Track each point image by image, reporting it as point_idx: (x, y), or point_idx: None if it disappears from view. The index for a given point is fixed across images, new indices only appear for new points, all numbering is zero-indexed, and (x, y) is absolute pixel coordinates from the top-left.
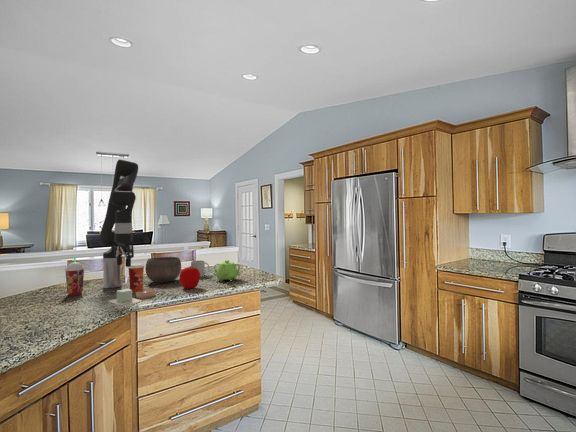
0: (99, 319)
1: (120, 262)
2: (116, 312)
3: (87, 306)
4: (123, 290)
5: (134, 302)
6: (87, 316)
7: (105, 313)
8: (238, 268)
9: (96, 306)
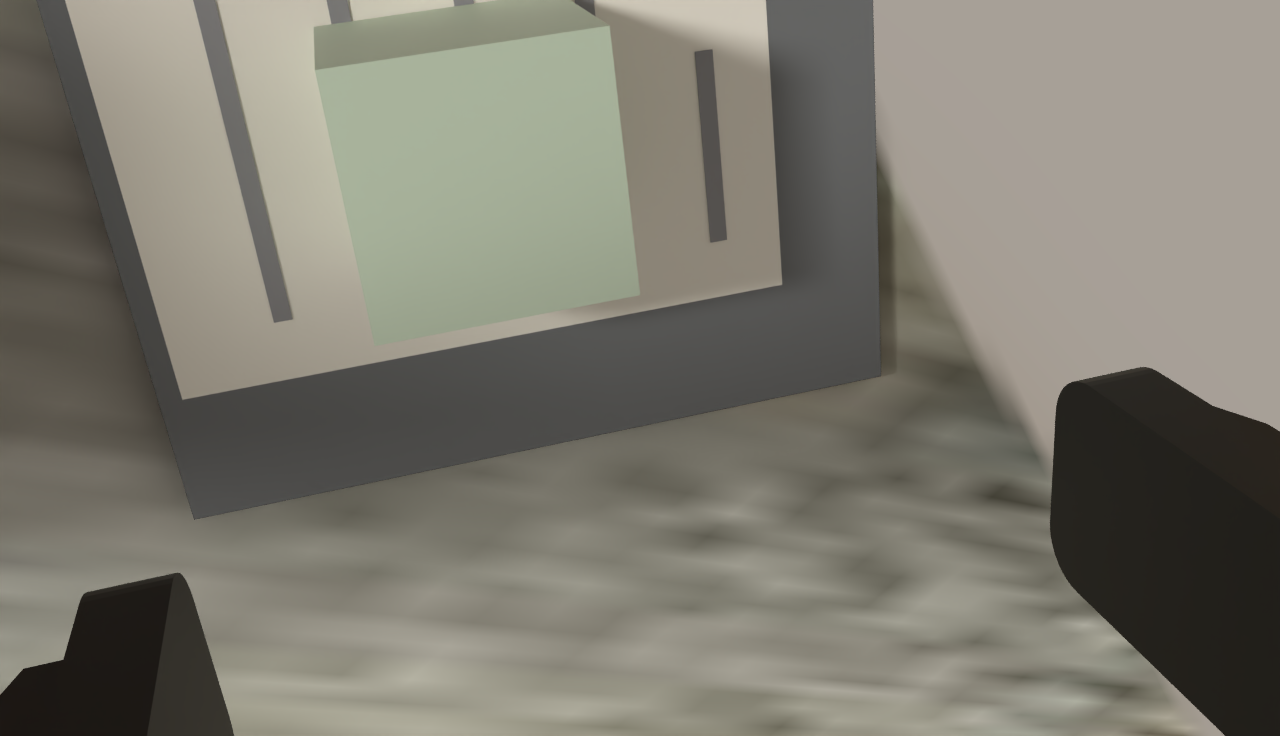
0: (1090, 628)
1: (193, 715)
2: (990, 409)
3: (266, 686)
4: (481, 211)
5: (756, 21)
6: (843, 724)
7: (906, 534)
8: None
9: (384, 578)
